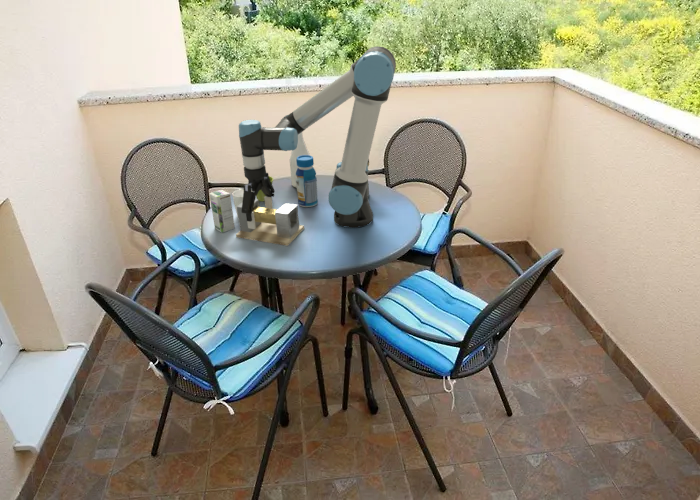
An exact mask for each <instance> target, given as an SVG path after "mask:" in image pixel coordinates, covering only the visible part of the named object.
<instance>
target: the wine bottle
mask: <svg viewBox="0 0 700 500" xmlns="http://www.w3.org/2000/svg"><path fill="white" fill-rule="evenodd" d="M301 155H310V156H311V154H310V152H309V150H308V147H307V145H306V143H305V141H304V137H303V132H301V133H300V134H298V144H297V148H296V149H295V150H291V153H290V156H289V167H290V169H289V170H290V181H291V185H292V187H294V188H296V189H297V183H296V178H297V176H296V171H297V169H298V166H297V161H296V159H297V157H298V156H301Z"/></svg>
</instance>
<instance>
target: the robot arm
mask: <svg viewBox="0 0 700 500" xmlns="http://www.w3.org/2000/svg"><path fill="white" fill-rule="evenodd" d="M349 68H350V69H349V70H348V71H345V73H344V74H342V75H341V76H339V77H338V78H337V79H335V80H333V82H331V83H330V84H328V86H326V87H324V88H323V89H322V90H320V91H319V92H317V93H316V94H315V95H313V96H312V97H311V98H309V99H308V100H307V101H305V102H304V103H302V104H300V105H299V106H298V107H297V108H296V109H294V110H293V111H292V112H290V113H289V114H287V115H285V116H283V117H282V119H280V121H279V122H278V123H277V124H276V125H275V126H274V127H265V126H264V127H263V126H262V124H261V121H259V120H257V119H247V120H243V121H241V122H240V123H238V137H239V143H240V148H241V149H240V150H241V157H242V158H241V159H242V163H243V164H242V165H243V175H244V177H245V178H246V179H247V180H248V182H247V184H243V187H242V189H244V193H243V202H242V211H241V212H242V213H246V218H247V223H248V228H250V229H256V226H255V218H254V212H252V210H253V206H254V202H255V199H256V198H257V197H256V195H257V194H258V192H259V190H261V191H262V192H263V193H264V194H265V195H266V196H265V197H264V199H265V201H264V208H270V209H274V208H273V206H274V205H273V198H274V197H275V192H276V191H275V189H274V186H273V183H272V184H271V181H270V179H269V176H270V175H269V172H267V170H266V165H265V164H266V160H265V151H283V152H287V151H292V150H295V149H296V148H297V144H298V134H300V133H301V132H302V133H303V132H304V131H305V130H306V129H308V128H309V127H311V126H312V125H313V124H315V123H317V122H318V121H320V120H321V119H322V118H323V117H325V116H327V115H329V114H330V113H331V112H332V111H334V110H335V109H337V108H338V107H339V106H341V105H342V104H344V103H345V102H347V101H348V100H349V99H351V98H352V97H354V102H353V105H352V112H351V116H350V121H349V125H348V130H347V135H346V140H345V144H344V150H343V153H342V159H341V161H340V162H338V163H337V164H336V169H335V171H334V176H333V181H332V185H331V188H330V191H329V192H328V203H329V205H330V208H331V209H333V211H334V212H333V221H334V223H335V224H336V225H338V226H341V227H344V228H348V229H349V228H350V229H351V228H353V229H355V228H362V227H365V226H368V225H370V224H371V223H372V222H373V220H374V213H373V210H372V207H371V204H370V201H369V195H368V184H369V172H370V171H369V166H368V165H367V163H368V158H369V157H370V152H371V148H372V145H373V141H374V137H375V132H376V128H377V123H378V121H379V120H378V119H379V116H380V112H381V108H382V105H383V104H384V103H386V102H387V101H388V100H389V99H388V98H389V96H390V91H391V86H392V82H393V80H394V76H395V73H396V68H397V63H396V58H395V56H394V54H393V53H392V52H391V51H390V49H387V48H386V47H385V46H384V47H383V46H378V45H377V46H373V47H370V48H368V49H367V50H366V51H365V52H364V53H363V54H362V55H361V56H360V57H359V58H358V59H357V60H356V61H355V62H353V63H351V65H350V67H349ZM369 159H370V158H369ZM251 190H252V191H253V192H251Z"/></svg>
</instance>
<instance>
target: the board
mask: <svg viewBox="0 0 700 500" xmlns="http://www.w3.org/2000/svg"><path fill="white" fill-rule="evenodd" d="M303 230H305V225H304V224H303V225H302V224H299V230H298V231H297V232H296V233H295V234H294V235H293V236H292V237H291V238H290V239H288V238H282V237H277V227H276V224H269V223H263V222H261V224H260V225H259V226H258V227H256V229H254V230H253V231H252V232H245V231H240V230H239V231H238V232H237V233H235V237H236V238H239V239H246V240H252V241H256V242H257V241H258V242H262V243H268V244H275V245H280V246H286V247H288V246H289V245H290V244H291V243H292V242H293V241H294V240H295V239H296V238H297V237H298V236H299V235H300V233H302V231H303Z"/></svg>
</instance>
